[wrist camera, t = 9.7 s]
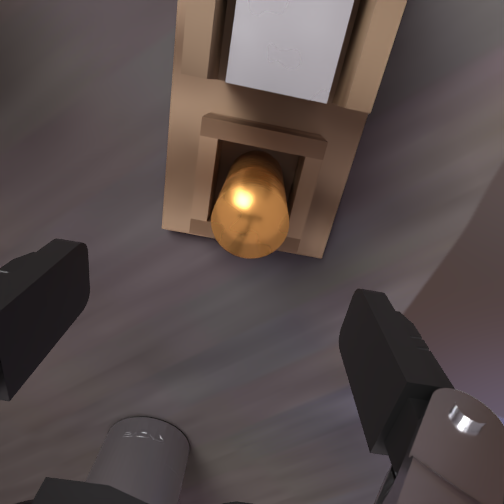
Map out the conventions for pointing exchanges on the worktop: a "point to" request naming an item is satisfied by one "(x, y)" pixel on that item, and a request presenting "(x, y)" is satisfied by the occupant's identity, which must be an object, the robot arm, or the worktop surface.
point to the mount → (268, 121)
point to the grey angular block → (288, 45)
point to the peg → (252, 207)
